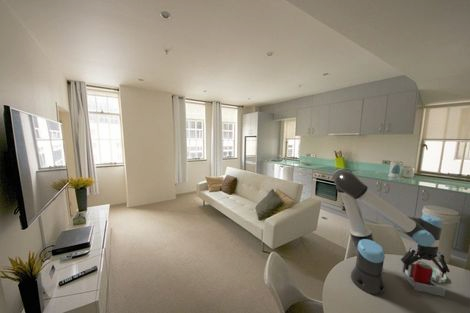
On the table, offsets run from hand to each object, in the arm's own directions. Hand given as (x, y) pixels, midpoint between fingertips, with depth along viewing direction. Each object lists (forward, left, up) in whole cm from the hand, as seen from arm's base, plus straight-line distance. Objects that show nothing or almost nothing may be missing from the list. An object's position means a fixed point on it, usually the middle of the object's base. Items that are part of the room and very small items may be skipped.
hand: (422, 277), depth 97 cm
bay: (0, 0, -4) cm, 4 cm away
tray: (+10, +12, -4) cm, 16 cm away
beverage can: (0, 0, -4) cm, 4 cm away
